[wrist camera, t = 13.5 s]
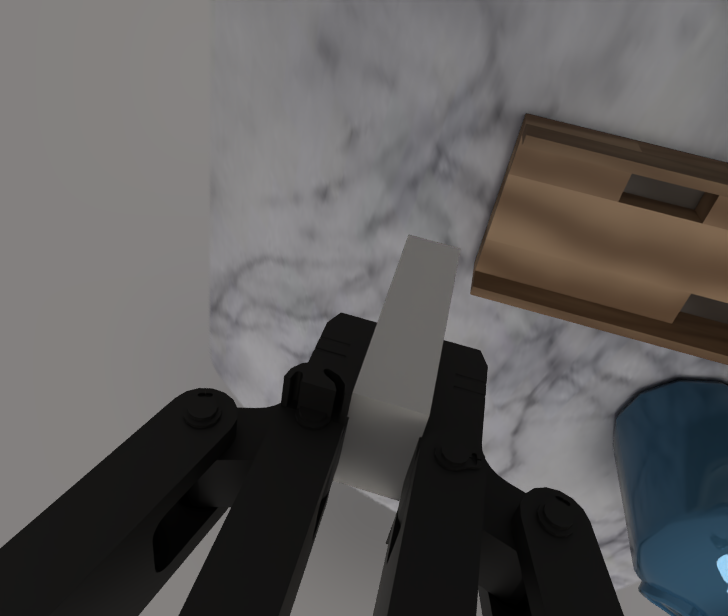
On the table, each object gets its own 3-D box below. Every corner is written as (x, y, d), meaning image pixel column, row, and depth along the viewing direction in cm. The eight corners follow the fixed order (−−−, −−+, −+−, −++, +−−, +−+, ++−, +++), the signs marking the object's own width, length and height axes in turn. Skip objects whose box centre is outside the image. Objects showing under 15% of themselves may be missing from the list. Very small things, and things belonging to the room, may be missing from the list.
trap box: (526, 113, 41) (526, 139, 36) (958, 219, 39) (1020, 263, 34) (474, 263, 49) (469, 301, 44) (833, 359, 47) (868, 411, 42)
